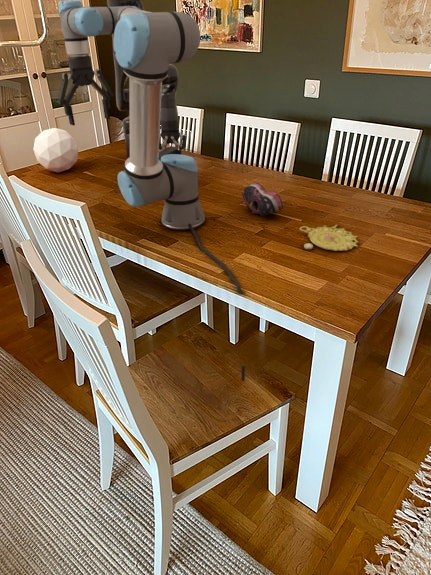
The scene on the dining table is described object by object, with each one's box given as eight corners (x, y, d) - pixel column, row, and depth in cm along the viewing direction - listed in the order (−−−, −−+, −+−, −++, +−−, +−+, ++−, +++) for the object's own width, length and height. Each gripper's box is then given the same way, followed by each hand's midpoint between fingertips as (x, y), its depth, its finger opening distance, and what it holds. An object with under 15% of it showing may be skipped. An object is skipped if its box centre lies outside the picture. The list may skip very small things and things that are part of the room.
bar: (153, 185, 179) (150, 164, 174) (143, 184, 181) (140, 162, 176) (181, 167, 196) (179, 147, 191) (172, 166, 198) (170, 146, 193)
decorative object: (343, 255, 128) (285, 234, 139) (342, 262, 130) (284, 241, 140) (372, 230, 142) (317, 213, 152) (371, 237, 143) (316, 219, 153)
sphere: (65, 187, 210) (49, 161, 191) (35, 167, 214) (16, 139, 196) (92, 159, 215) (78, 132, 196) (62, 140, 219) (46, 111, 200)
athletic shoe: (254, 181, 170) (227, 189, 167) (283, 176, 151) (253, 185, 147) (260, 210, 173) (234, 218, 170) (290, 209, 154) (261, 219, 150)
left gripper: (188, 116, 185) (190, 157, 194) (155, 116, 188) (159, 156, 197) (183, 120, 179) (186, 162, 188) (149, 120, 181) (154, 161, 190)
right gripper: (107, 51, 157) (116, 114, 168) (38, 57, 144) (52, 125, 155) (117, 52, 152) (126, 117, 163) (46, 59, 139) (61, 129, 150)
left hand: (172, 158), depth 192 cm, fingers closed on bar, 5 cm apart
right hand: (90, 121), depth 159 cm, fingers open, 13 cm apart
